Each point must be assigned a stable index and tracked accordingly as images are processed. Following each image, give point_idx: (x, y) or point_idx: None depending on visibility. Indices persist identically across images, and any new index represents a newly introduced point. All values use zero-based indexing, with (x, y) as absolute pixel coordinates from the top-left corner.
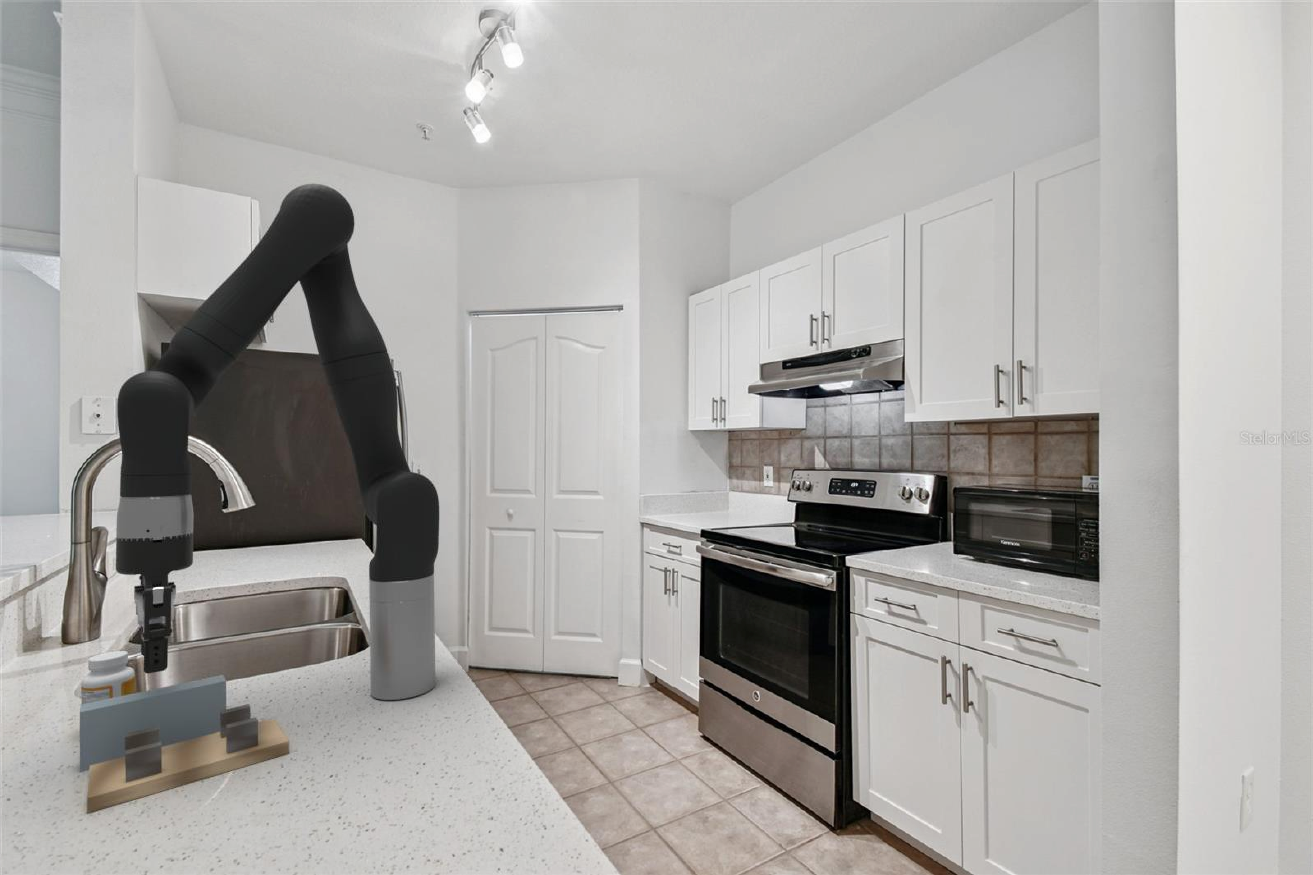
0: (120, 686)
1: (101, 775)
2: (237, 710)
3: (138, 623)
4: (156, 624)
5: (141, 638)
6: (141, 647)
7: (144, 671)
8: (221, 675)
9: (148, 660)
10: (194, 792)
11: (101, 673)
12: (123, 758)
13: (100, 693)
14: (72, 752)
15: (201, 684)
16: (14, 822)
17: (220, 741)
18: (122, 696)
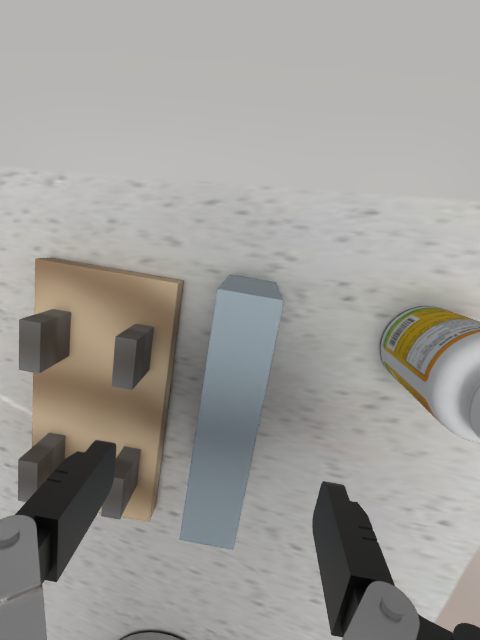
0: (421, 395)
1: (114, 289)
2: None
3: (28, 592)
4: (344, 622)
5: (337, 530)
6: (329, 500)
7: (94, 441)
8: (230, 546)
9: (64, 471)
10: (11, 369)
11: (476, 379)
12: (165, 326)
13: (427, 355)
14: (344, 280)
15: (196, 503)
16: (101, 179)
17: (111, 441)
18: (261, 376)
